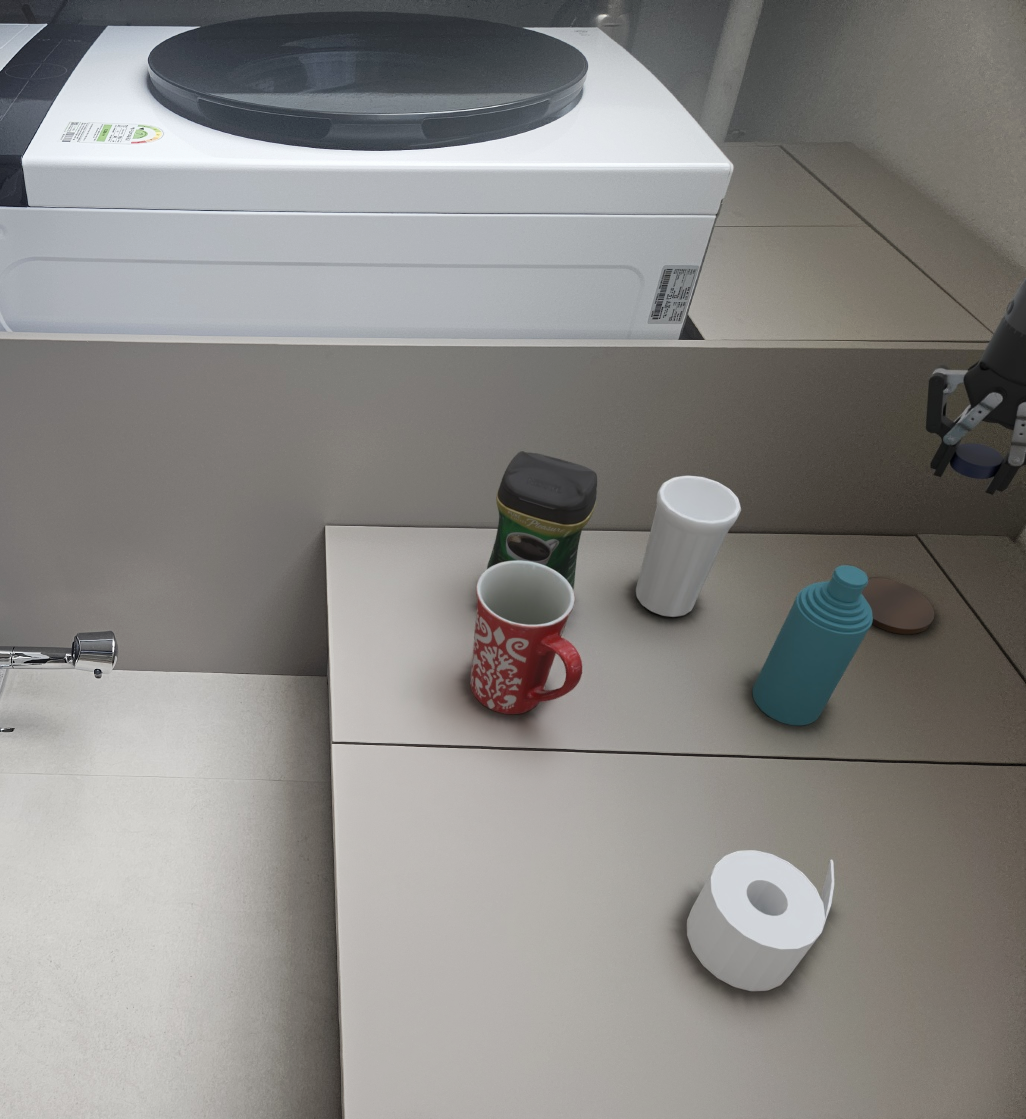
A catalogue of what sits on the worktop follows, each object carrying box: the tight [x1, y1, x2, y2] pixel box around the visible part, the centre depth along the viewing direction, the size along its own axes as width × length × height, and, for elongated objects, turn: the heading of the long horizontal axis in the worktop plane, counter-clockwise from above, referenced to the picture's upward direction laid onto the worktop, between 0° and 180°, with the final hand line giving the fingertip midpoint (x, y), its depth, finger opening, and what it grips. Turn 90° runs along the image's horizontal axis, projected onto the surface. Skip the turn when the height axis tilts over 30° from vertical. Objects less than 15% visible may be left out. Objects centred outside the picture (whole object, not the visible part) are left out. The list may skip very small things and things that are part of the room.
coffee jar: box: [485, 450, 598, 591], centre depth 102 cm, size 10×8×19 cm
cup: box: [635, 475, 742, 618], centre depth 103 cm, size 8×8×14 cm
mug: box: [469, 561, 583, 715], centre depth 93 cm, size 13×9×14 cm
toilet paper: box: [686, 849, 835, 992], centre depth 77 cm, size 8×11×7 cm
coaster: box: [861, 577, 935, 635], centre depth 106 cm, size 8×8×1 cm
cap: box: [949, 442, 1004, 480], centre depth 93 cm, size 4×4×2 cm
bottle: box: [751, 564, 873, 726], centre depth 91 cm, size 6×6×17 cm
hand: (964, 480), depth 95 cm, fingers closed on cap, 4 cm apart
